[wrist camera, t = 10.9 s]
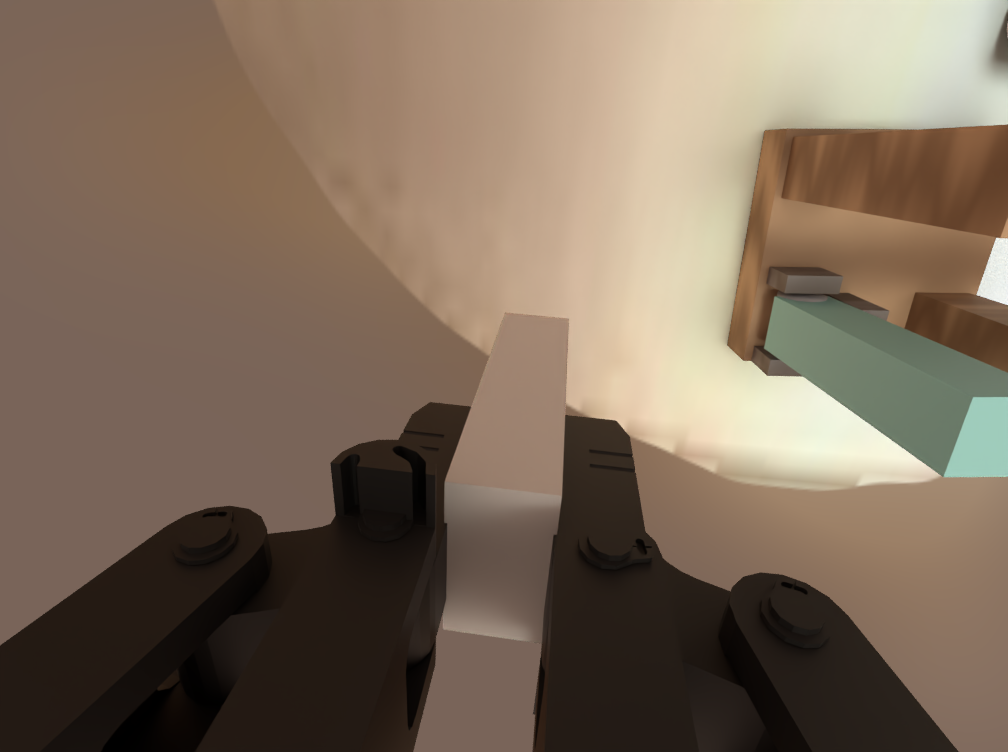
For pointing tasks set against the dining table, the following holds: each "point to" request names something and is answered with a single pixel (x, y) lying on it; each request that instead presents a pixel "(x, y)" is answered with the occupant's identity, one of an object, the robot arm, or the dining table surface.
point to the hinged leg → (898, 382)
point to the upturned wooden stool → (878, 233)
